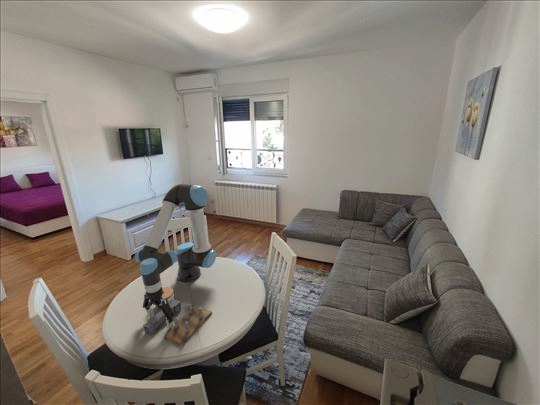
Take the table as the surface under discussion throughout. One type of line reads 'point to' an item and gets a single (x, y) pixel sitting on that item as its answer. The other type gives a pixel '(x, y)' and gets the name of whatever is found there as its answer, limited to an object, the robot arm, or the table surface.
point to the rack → (187, 324)
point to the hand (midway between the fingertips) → (160, 322)
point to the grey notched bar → (160, 318)
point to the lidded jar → (167, 294)
